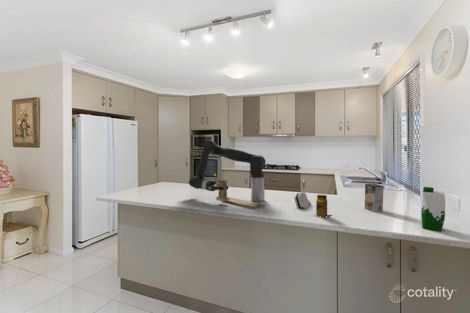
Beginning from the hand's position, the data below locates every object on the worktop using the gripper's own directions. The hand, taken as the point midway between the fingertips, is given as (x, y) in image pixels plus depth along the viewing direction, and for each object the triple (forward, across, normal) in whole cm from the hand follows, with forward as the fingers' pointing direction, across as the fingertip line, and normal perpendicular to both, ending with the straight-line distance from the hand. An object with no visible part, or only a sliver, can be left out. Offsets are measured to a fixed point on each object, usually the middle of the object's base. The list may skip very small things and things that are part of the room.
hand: (225, 188), depth 171 cm
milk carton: (+108, +38, +13) cm, 115 cm away
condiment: (+59, +22, +12) cm, 64 cm away
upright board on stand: (-3, 0, +8) cm, 9 cm away
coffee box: (+77, +55, +12) cm, 95 cm away
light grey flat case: (+39, +35, +12) cm, 53 cm away
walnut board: (+6, +10, +12) cm, 16 cm away
